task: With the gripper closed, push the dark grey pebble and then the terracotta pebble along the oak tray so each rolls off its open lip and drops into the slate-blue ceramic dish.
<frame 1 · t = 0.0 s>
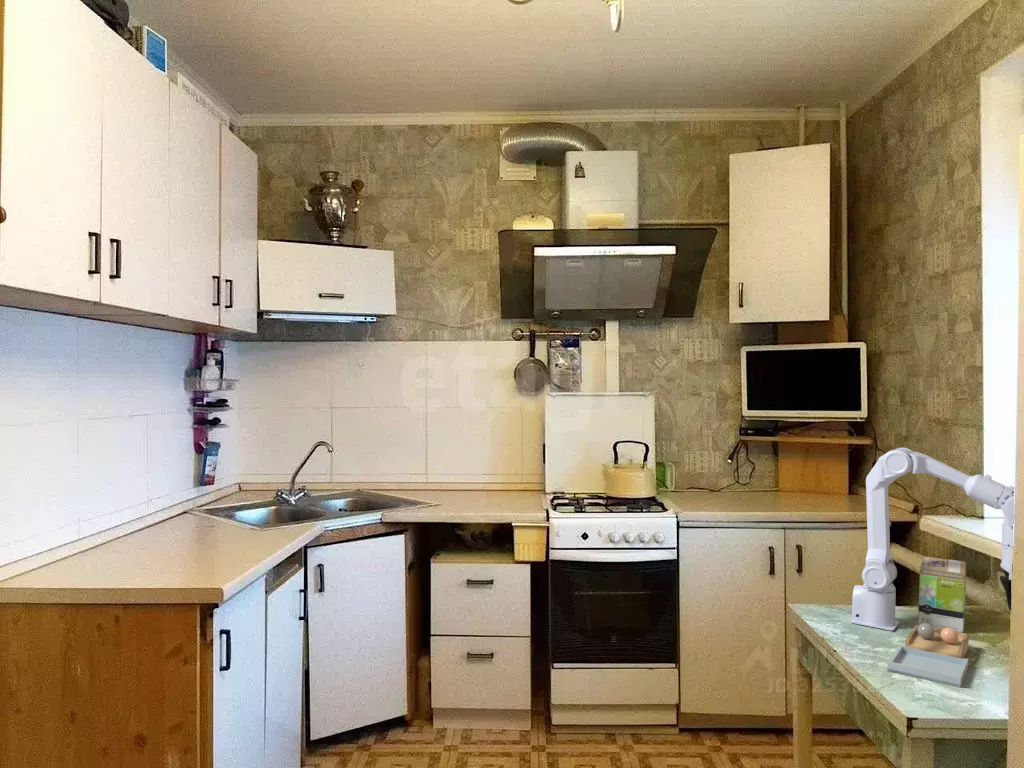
hand: (1016, 606, 164), 10 cm above the table, fingers open, 7 cm apart
pebble terracotta: (949, 635, 162), point 4 cm above the table, touching oak tray
tea box: (941, 622, 185), on the table
ceramic dish: (928, 669, 153), on the table
oak tray: (937, 651, 163), on the table
pebble grey: (926, 631, 165), point 4 cm above the table, touching oak tray
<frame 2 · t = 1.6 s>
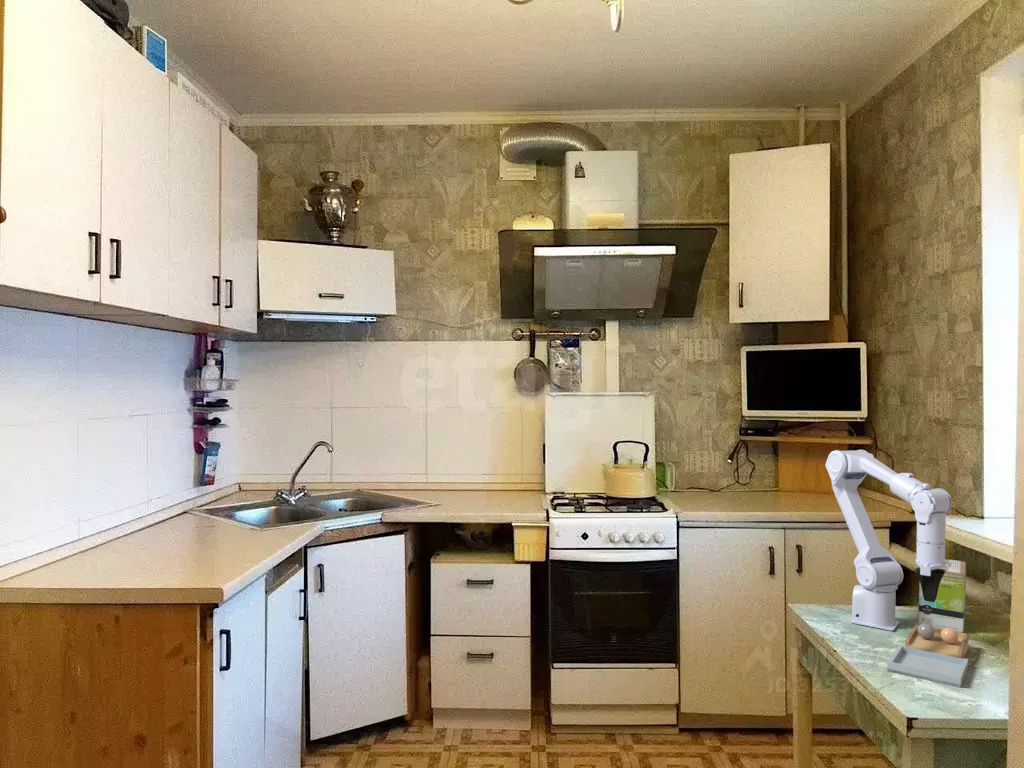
hand: (929, 600, 168), 10 cm above the table, fingers closed
nothing on the table moved.
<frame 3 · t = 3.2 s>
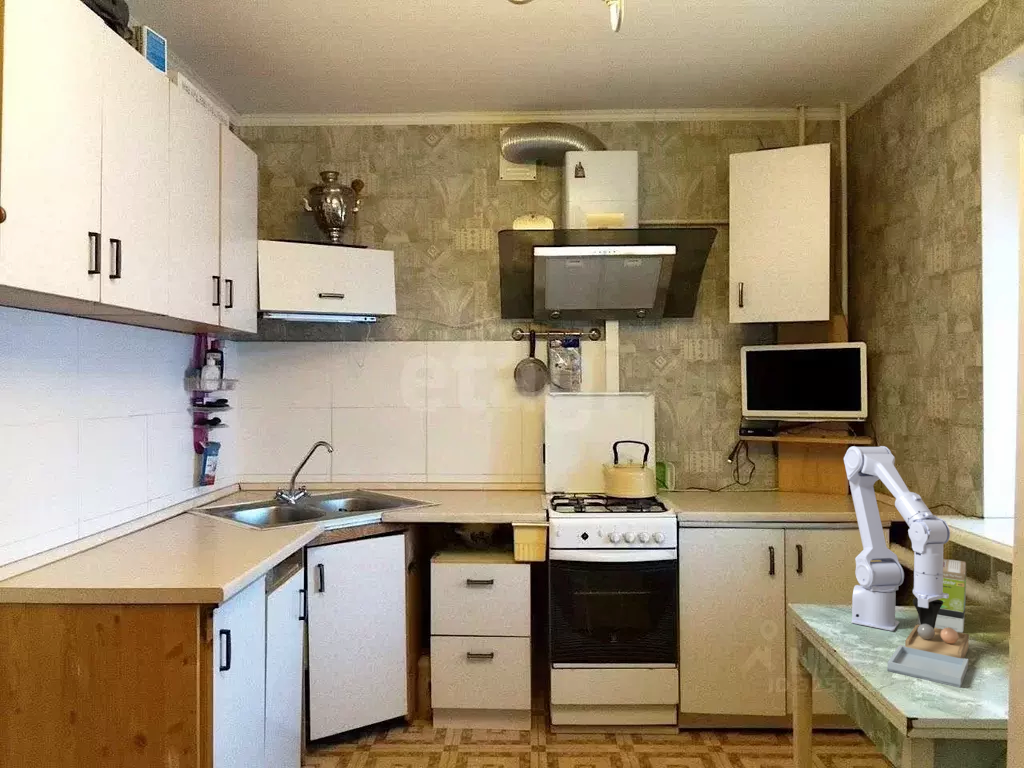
hand: (927, 632, 166), 4 cm above the table, fingers closed, pressing on pebble grey
pebble grey: (926, 631, 165), point 4 cm above the table, tilted 10°, touching gripper, oak tray
everything else where it was.
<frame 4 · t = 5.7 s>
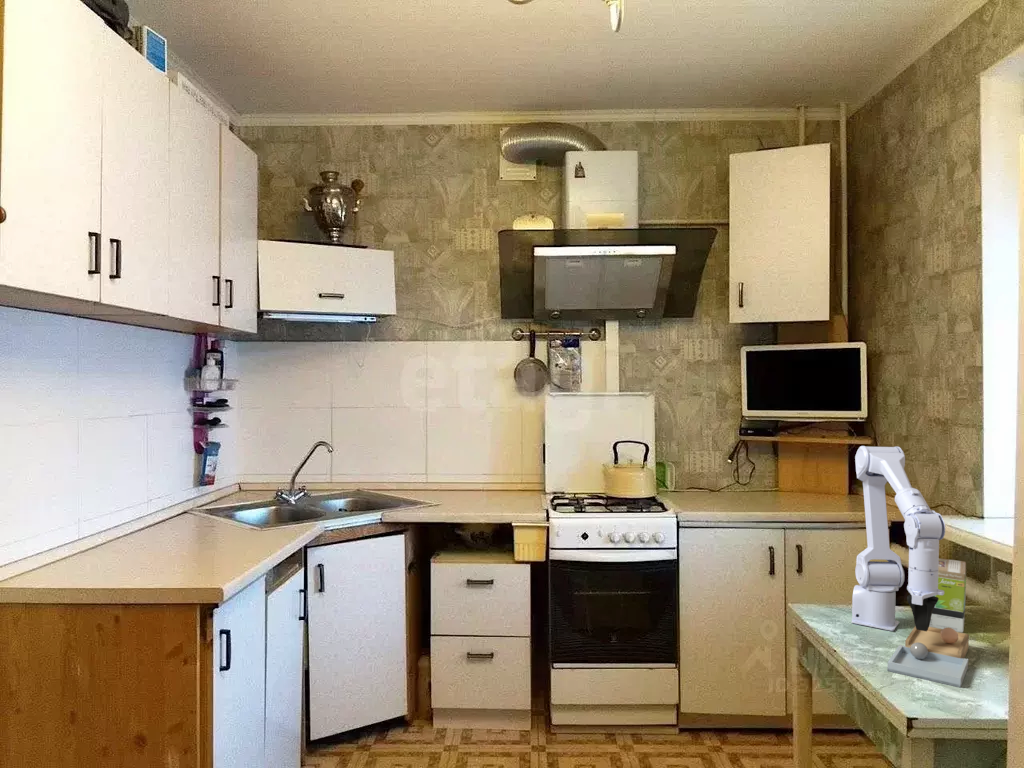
hand: (922, 629, 161), 6 cm above the table, fingers closed
pebble grey: (919, 650, 158), point 2 cm above the table, tilted 34°, touching ceramic dish
everything else where it was.
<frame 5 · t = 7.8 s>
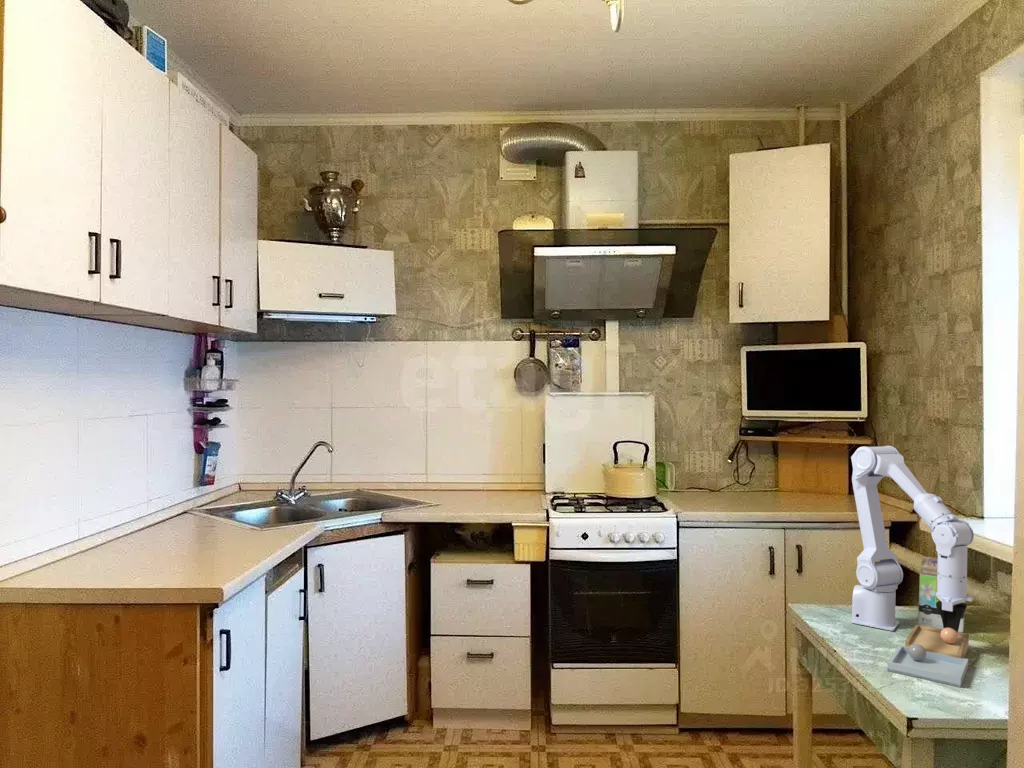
hand: (950, 635, 164), 3 cm above the table, fingers closed, pressing on pebble terracotta
pebble terracotta: (949, 635, 162), point 4 cm above the table, touching gripper, oak tray
pebble grey: (917, 652, 157), point 2 cm above the table, tilted 11°, touching ceramic dish
everything else where it was.
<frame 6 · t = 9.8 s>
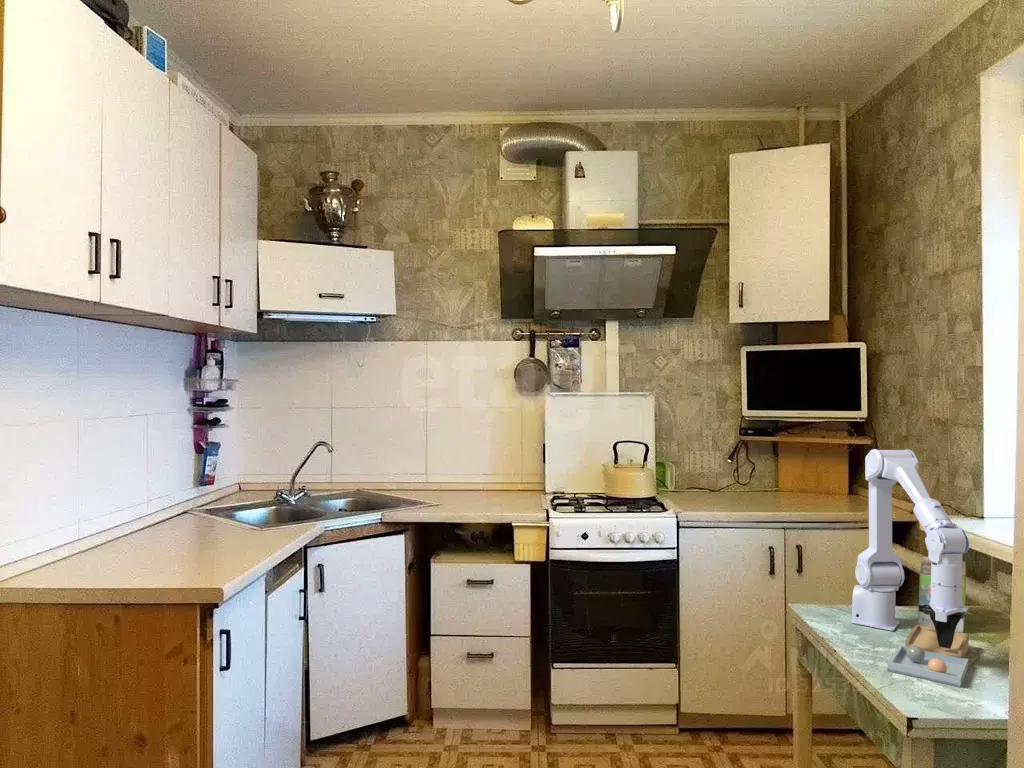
hand: (945, 646, 157), 3 cm above the table, fingers closed
pebble terracotta: (937, 667, 149), point 2 cm above the table, tilted 11°, touching ceramic dish
pebble grey: (915, 653, 156), point 2 cm above the table, tilted 53°, touching ceramic dish
everything else where it was.
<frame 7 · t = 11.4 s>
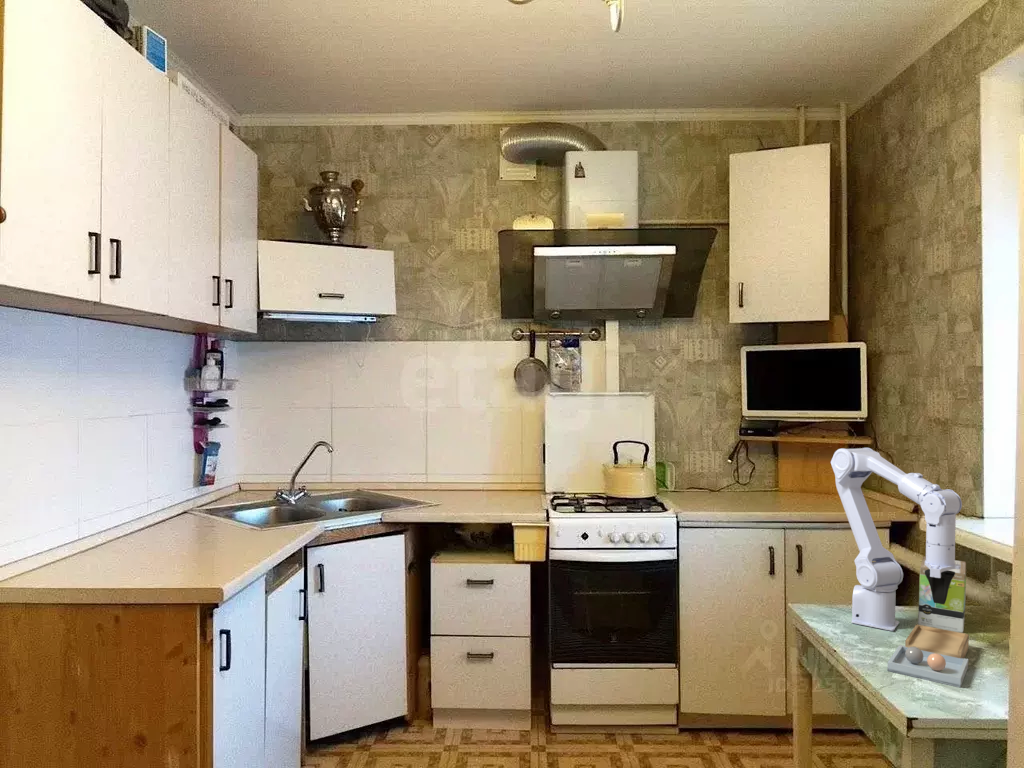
hand: (939, 603, 167), 10 cm above the table, fingers closed
pebble terracotta: (936, 662, 151), point 2 cm above the table, tilted 114°, touching ceramic dish
pebble grey: (914, 655, 155), point 2 cm above the table, tilted 88°, touching ceramic dish
everything else where it was.
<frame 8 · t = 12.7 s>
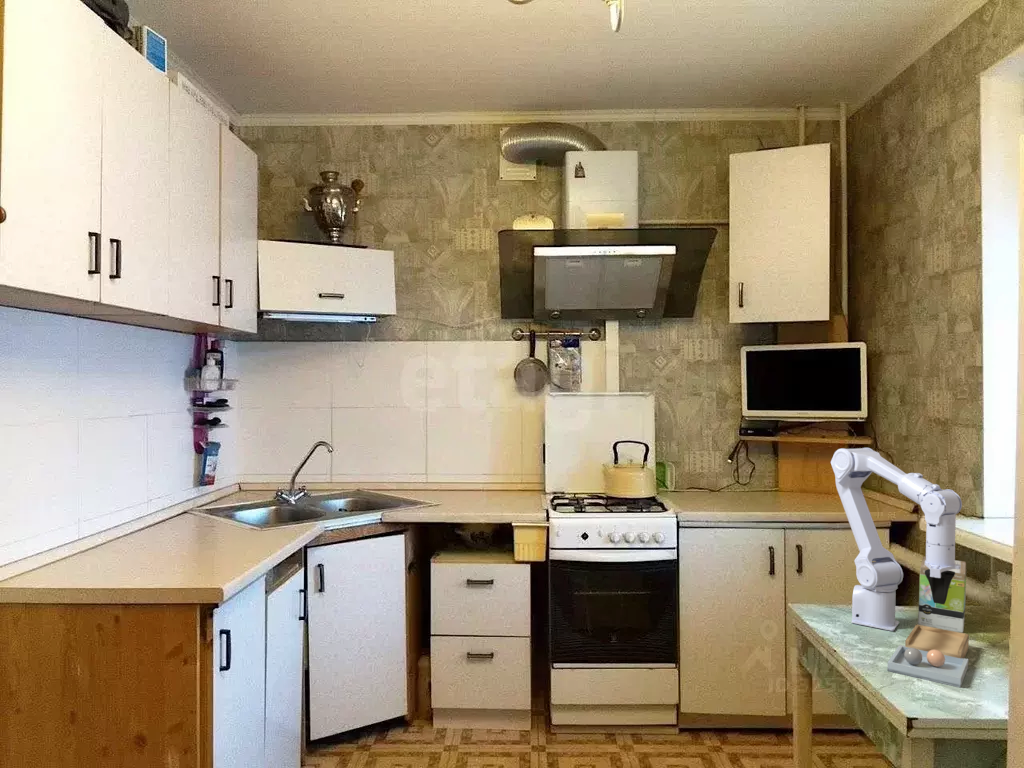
hand: (939, 603, 167), 10 cm above the table, fingers closed
pebble terracotta: (935, 658, 154), point 2 cm above the table, tilted 162°, touching ceramic dish
pebble grey: (913, 656, 154), point 2 cm above the table, tilted 115°, touching ceramic dish
everything else where it was.
at the end: pebble grey inside the target area on the ceramic dish (2.7 cm from its centre), point 2.2 cm above the ceramic dish's base; pebble terracotta inside the target area on the ceramic dish (1.8 cm from its centre), point 2.2 cm above the ceramic dish's base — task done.
